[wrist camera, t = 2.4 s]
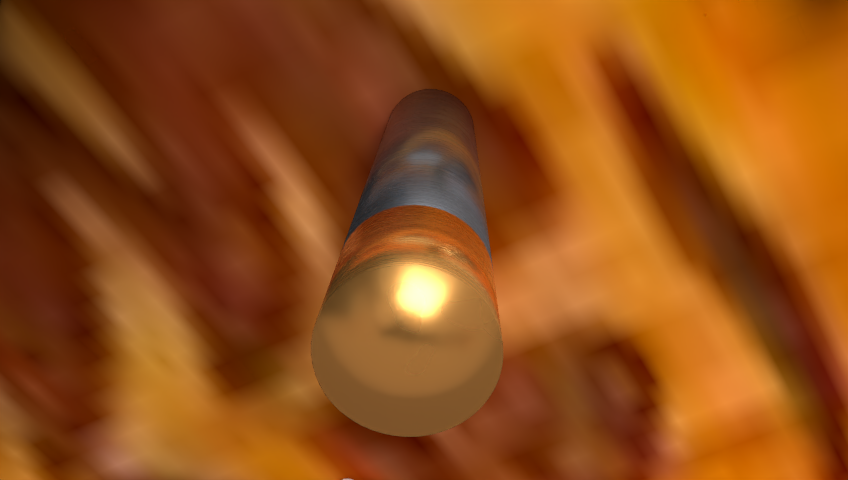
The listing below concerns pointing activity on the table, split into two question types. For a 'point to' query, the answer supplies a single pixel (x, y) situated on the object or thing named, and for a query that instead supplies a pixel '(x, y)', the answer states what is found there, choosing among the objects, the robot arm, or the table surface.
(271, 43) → the table surface
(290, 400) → the table surface
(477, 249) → the copper and gray cylinder
